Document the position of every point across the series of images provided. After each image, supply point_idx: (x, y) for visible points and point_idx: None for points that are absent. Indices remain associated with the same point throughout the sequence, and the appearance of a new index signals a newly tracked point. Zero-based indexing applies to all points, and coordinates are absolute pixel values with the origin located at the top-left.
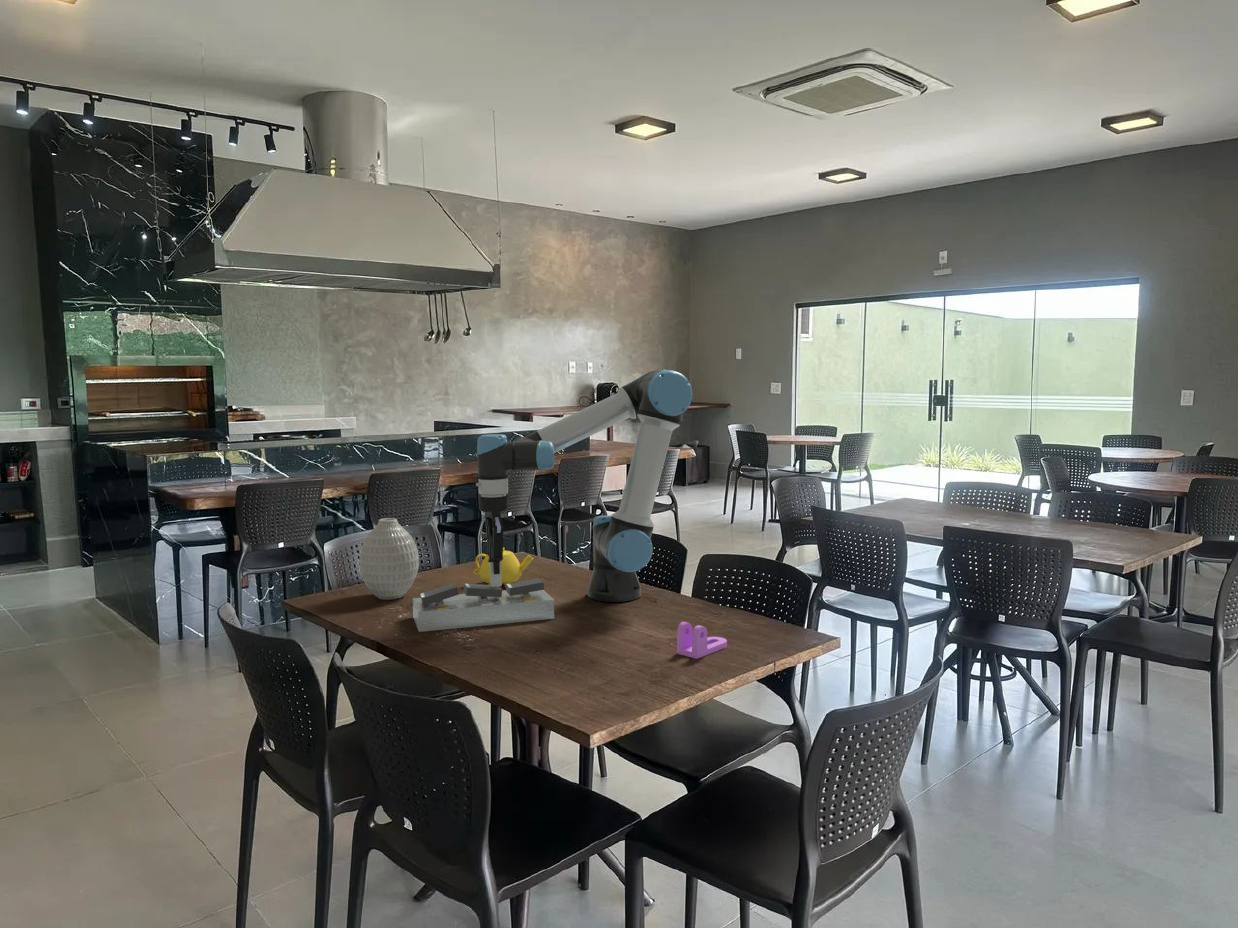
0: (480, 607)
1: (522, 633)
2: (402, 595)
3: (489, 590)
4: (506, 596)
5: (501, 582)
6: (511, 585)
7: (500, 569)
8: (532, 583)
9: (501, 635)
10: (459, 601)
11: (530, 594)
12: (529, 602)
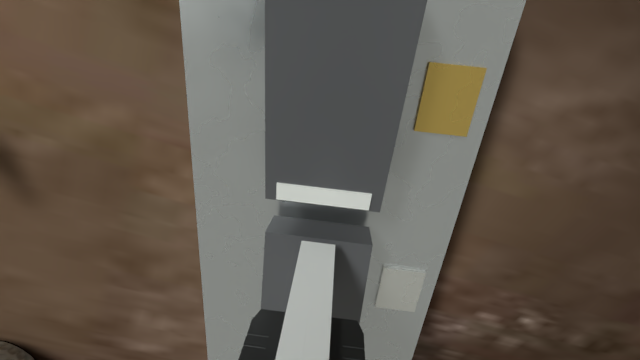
0: (424, 311)
1: (592, 177)
2: (17, 351)
3: (361, 299)
4: None
5: (333, 257)
6: (322, 183)
7: (329, 330)
8: (393, 57)
9: (558, 242)
10: None
11: None
12: (488, 113)
